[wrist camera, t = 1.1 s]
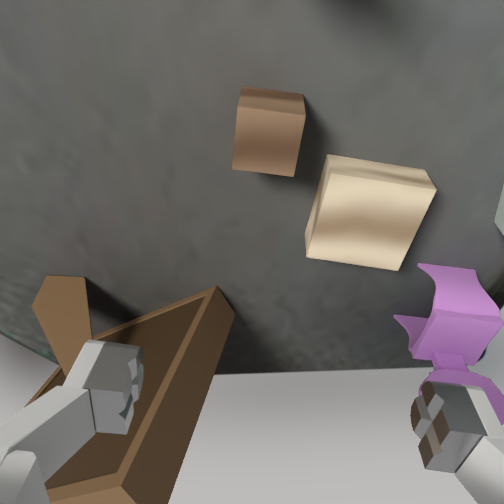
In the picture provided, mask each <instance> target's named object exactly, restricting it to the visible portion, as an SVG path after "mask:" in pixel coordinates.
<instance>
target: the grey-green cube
mask: <svg viewBox="0 0 504 504" xmlns="http://www.w3.org/2000/svg"><path fill="white" fill-rule="evenodd" d="M494 223H495V224H496V225H497V227H498V228H499V230H500V231H501V232H502V234H503V235H504V185H503V189H502V193H501V197H500V201H499V205H498V209H497V213H496V217H495V221H494Z"/></svg>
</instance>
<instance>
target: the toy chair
mask: <svg viewBox="0 0 504 504" xmlns="http://www.w3.org/2000/svg"><path fill="white" fill-rule="evenodd" d="M417 266H418V267H419V268H420V269H422V270H423V271H425V272H426V273H427V274H428V275H429V276H431V277H432V279H433V280H434V281H435V285H436V291H435V296H434V299H433V308H432V312H431V314H430V317H429V318H421V317H412V316H404V315H394V316H393V317H394V318H395V319H396V320H397V321H398V322H399V323H400V324H401V325H402V326H403V327H404V328H405V329H406V331H407V332H408V335H409V351H410V352H411V354H412V357H413V359H421V360H432V363H433V367H434V371H433V372H430V373H429V376H428V377H427V379H425V381H424V382H426V381H436V382H445V383H454V384H460V385H470V386H478V387H481V388H482V389H483V390H484V392H485V394H486V396H487V398H488V400H489V402H490V404H491V406H492V408H493V410H494V412H495V414H496V416H497V418H498V420H499V422H500V424H501V426H502V425H503V424H504V395H503V394H502V393H501V392H500V391H499V389H498V388H497V387H496V386H495V385H494V383H493V382H492V381H491V379H489V378H486V377H484V376H481V375H479V374H476V373H473V372H469V370H468V368H467V367H466V365H473V366H474V365H475V364H476V362H477V361H478V359H479V358H480V356H481V355H482V353H483V351H484V350H485V348H486V347H487V345H488V344H489V342H490V341H491V340H492V339H493V337H494V336H495V335H496V334H497V333H498V331H499V330H500V328H501V327H502V326H503V324H504V323H503V321H502V319H501V318H500V311H499V308H498V307H497V305H496V304H495V303H494V301H493V300H492V299H491V298H490V297H489V295H488V294H487V293H486V292H485V291H484V289H483V288H482V286H481V285H480V283H479V281H478V279H477V275H476V270H472V269H463V268H455V267H447V266H439V265H430V264H422V263H418V264H417ZM424 382H423V383H424ZM423 383H422V384H421V386H420V388H421V387H422V385H423ZM420 388H419V396H421V395H422V392H421V389H420Z"/></svg>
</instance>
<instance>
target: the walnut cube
mask: <svg viewBox="0 0 504 504" xmlns="http://www.w3.org/2000/svg"><path fill="white" fill-rule="evenodd" d="M305 118H306V113H305V105H304V98H303V94H297V93H290V92H283V91H275V90H268V89H261V88H254V87H246V86H242V90H241V95H240V99H239V103H238V108H237V119H236V129H235V140H234V150H233V161H232V169H237V170H245V171H252V172H260V173H268V174H275V175H283V176H290V177H294V173H295V168H296V163H297V158H298V153H299V148H300V143H301V138H302V133H303V128H304V123H305Z"/></svg>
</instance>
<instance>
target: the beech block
mask: <svg viewBox="0 0 504 504" xmlns="http://www.w3.org/2000/svg"><path fill="white" fill-rule="evenodd" d="M435 192H436V188H435V187H434V185H433V183H432V182H431V180H430V178H429V176H428V175H427V173H426V171H425V170H421V169H415V168H409V167H403V166H397V165H391V164H384V163H378V162H372V161H366V160H360V159H354V158H348V157H341V156H335V155H329V154H327V157H326V160H325V164H324V168H323V171H322V175H321V178H320V182H319V186H318V189H317V193H316V196H315V200H314V203H313V207H312V211H311V214H310V218H309V221H308V225H307V229H306V232H305V244H306V257H309V258H316V259H322V260H329V261H336V262H342V263H349V264H356V265H362V266H369V267H375V268H382V269H389V270H395V271H398V270H399V267H400V265H401V263H402V261H403V259H404V257H405V255H406V253H407V251H408V249H409V247H410V245H411V242H412V240H413V238H414V236H415V234H416V232H417V230H418V228H419V226H420V224H421V222H422V220H423V217H424V215H425V213H426V211H427V209H428V207H429V205H430V203H431V201H432V199H433V197H434V195H435Z"/></svg>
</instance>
